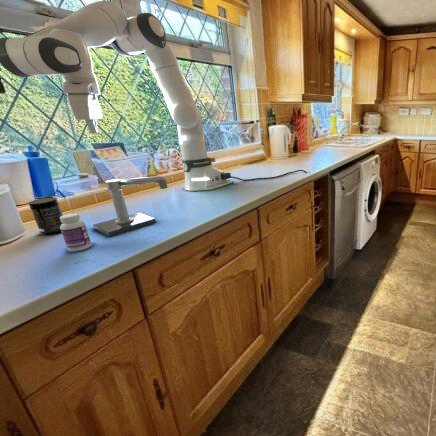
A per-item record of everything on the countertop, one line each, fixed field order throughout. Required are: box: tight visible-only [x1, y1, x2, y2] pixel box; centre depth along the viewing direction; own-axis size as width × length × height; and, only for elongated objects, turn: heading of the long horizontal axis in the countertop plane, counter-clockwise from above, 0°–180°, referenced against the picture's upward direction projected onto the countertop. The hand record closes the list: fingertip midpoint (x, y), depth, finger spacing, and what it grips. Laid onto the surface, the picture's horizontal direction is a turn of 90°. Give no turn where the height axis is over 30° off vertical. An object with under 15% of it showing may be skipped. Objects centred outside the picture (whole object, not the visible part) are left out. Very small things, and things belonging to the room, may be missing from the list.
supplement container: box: [28, 197, 64, 236], centre depth 95 cm, size 7×7×10 cm
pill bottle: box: [60, 212, 92, 252], centre depth 83 cm, size 5×5×10 cm
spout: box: [105, 175, 169, 192], centre depth 97 cm, size 17×4×4 cm, turn 105°
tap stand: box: [92, 188, 157, 237], centre depth 98 cm, size 14×12×12 cm
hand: (94, 133), depth 102 cm, fingers closed
